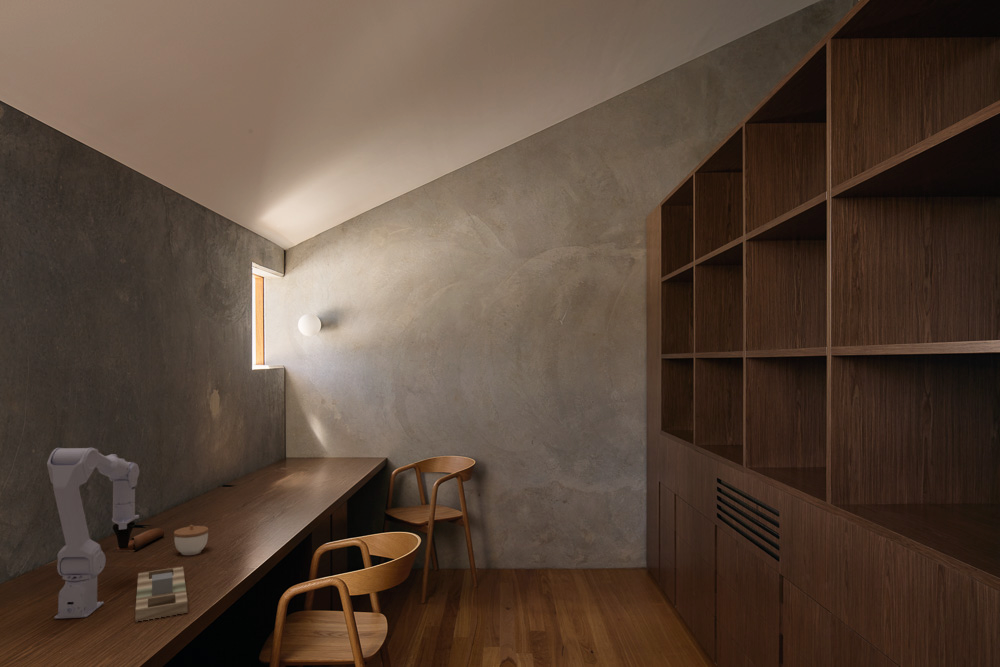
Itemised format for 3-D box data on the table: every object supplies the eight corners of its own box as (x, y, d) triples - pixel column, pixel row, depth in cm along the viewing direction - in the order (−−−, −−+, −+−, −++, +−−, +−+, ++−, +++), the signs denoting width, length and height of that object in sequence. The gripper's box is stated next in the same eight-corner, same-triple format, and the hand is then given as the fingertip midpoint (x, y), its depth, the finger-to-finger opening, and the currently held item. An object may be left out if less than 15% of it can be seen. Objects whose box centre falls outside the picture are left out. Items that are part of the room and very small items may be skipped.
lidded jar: (213, 547, 228) (213, 520, 228) (200, 557, 217) (200, 529, 218) (182, 548, 228) (182, 521, 228) (167, 557, 217) (168, 529, 217)
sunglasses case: (142, 536, 242) (151, 521, 242) (158, 546, 241) (167, 530, 241) (111, 551, 224) (121, 535, 224) (129, 562, 223) (138, 545, 223)
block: (172, 592, 178) (172, 577, 178) (151, 595, 176) (152, 580, 176) (172, 586, 182) (172, 572, 182) (151, 589, 180) (152, 575, 180)
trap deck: (187, 613, 171) (187, 602, 171) (135, 622, 165) (135, 610, 165) (182, 576, 199) (182, 566, 199) (138, 582, 194) (138, 572, 194)
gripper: (138, 505, 190) (138, 552, 189) (139, 496, 202) (139, 539, 202) (110, 508, 186) (110, 556, 186) (113, 498, 199) (113, 543, 199)
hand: (123, 548), depth 194 cm, fingers closed
